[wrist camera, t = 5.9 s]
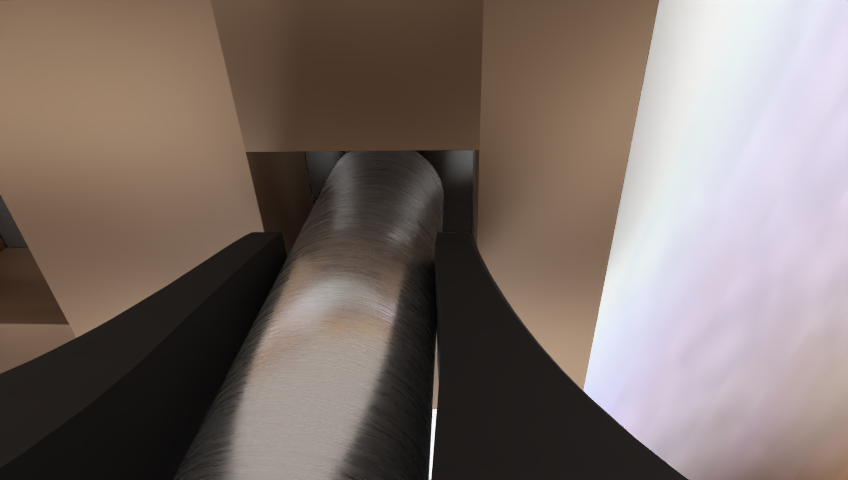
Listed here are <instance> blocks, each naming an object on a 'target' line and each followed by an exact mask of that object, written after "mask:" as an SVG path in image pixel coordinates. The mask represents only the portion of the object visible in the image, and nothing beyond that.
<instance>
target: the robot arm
mask: <svg viewBox="0 0 848 480" xmlns="http://www.w3.org/2000/svg"><path fill="white" fill-rule="evenodd" d="M434 255H435V294H436V315H437V332H436V333H437V365H438V381H439V387H438V402H437V416H436V429H435V442H434V455H433V468H432V479H431V480H688V479H687V478H685V477H684V476H683V475H681V474H680V473H679V472H677V471H676V470H675V469H673V468H672V467H671V466H670V465H668V464H667V463H666V462H665V461H663V460H662V459H661V458H659V457H658V456H657V455H656V454H654V453H653V452H652V451H651V450H649V449H648V448H647V447H646V446H644V445H643V444H642V443H641V442H639V441H638V440H637V439H636V438H634V437H633V436H632V435H631V434H630V433H629V432H628V431H627V430H626V429H624V428H623V427H622V426H621V425H620V424H619V423H618V422H617V421H616V420H614V419H613V418H612V417H611V416H610V415H609V414H608V413H607V412H605V411H604V410H603V409H602V408H601V407H600V406H599V405H598V404H597V403H595V402H594V401H593V400H592V399H591V398H590V397H589V396H588V395H587V394H586V393H585V392H584V391H583V390H582V389H581V388H580V387H579V386H578V385H577V384H576V383H575V382H574V381H573V380H572V379H571V378H570V377H569V376H568V375H567V374H566V373H565V372H564V371H563V370H562V369H561V368H560V366H559V365H558V364H557V363H556V362H555V361H554V360H553V359H552V358H551V356H550V355H549V354H548V353H547V352H546V351H545V350H544V349H543V347H542V346H541V345H540V344H539V343H538V341H537V340H536V339H535V338H534V336H533V335H532V334H531V333H530V331H529V330H528V329H527V327H526V326H525V325H524V323H523V322H522V321H521V319H520V318H519V317H518V315H517V314H516V313H515V311H514V310H513V308H512V307H511V305H510V304H509V303H508V301H507V300H506V298H505V296H504V295H503V293H502V292H501V290H500V288H499V287H498V285H497V284H496V282H495V281H494V279H493V277H492V275H491V274H490V272H489V270H488V268H487V266H486V264H485V262H484V261H483V259H482V256H481V254H480V252H479V250H478V247H477V245H476V242H475V238H474V237H473V236H472V235H471V234H470V233H437V235H436V241H435V249H434ZM286 259H287V253H286V248H285V244H284V239H283V234H282V232H251V233H249V234H247V235H245V236H243V237H242V238H240V239H238V240H237V241H235V242H233V243H232V244H230V245H229V246H227V247H225V248H224V249H222V250H221V251H219V252H218V253H216V254H215V255H213V256H212V257H210V258H208V259H207V260H205V261H204V262H202V263H201V264H199V265H198V266H196V267H195V268H193V269H192V270H190V271H189V272H187V273H185V274H184V275H182V276H181V277H179V278H178V279H176V280H175V281H173V282H172V283H170V284H169V285H167V286H165V287H164V288H162V289H160V290H159V291H157V292H155V293H154V294H152V295H150V296H149V297H147V298H145V299H144V300H142V301H140V302H139V303H137V304H135V305H134V306H132V307H130V308H129V309H127V310H125V311H124V312H122V313H120V314H119V315H117V316H115V317H114V318H112V319H110V320H108V321H107V322H105V323H103V324H101V325H100V326H98V327H96V328H94V329H92V330H90V331H88V332H86V333H85V334H83V335H81V336H79V337H77V338H75V339H73V340H71V341H69V342H67V343H65V344H63V345H61V346H59V347H57V348H55V349H53V350H51V351H49V352H47V353H45V354H43V355H41V356H39V357H37V358H35V359H32V360H30V361H28V362H26V363H24V364H21V365H19V366H17V367H14V368H12V369H10V370H8V371H5V372H3V373H1V374H0V480H173V479H174V477H175V475H176V473H177V472H178V470H179V468H180V466H181V464H182V462H183V460H184V458H185V456H186V454H187V452H188V450H189V448H190V446H191V444H192V442H193V440H194V438H195V436H196V434H197V433H198V431H199V429H200V427H201V425H202V423H203V421H204V419H205V417H206V415H207V413H208V411H209V409H210V407H211V405H212V403H213V401H214V399H215V397H216V395H217V394H218V392H219V390H220V388H221V386H222V384H223V382H224V380H225V378H226V376H227V374H228V372H229V370H230V368H231V366H232V364H233V362H234V360H235V358H236V356H237V355H238V353H239V351H240V349H241V347H242V345H243V343H244V341H245V339H246V337H247V335H248V333H249V331H250V329H251V327H252V325H253V323H254V321H255V319H256V317H257V316H258V314H259V312H260V310H261V308H262V306H263V304H264V302H265V300H266V298H267V296H268V294H269V292H270V290H271V288H272V286H273V284H274V282H275V280H276V278H277V277H278V275H279V273H280V271H281V269H282V267H283V265H284V263H285V261H286Z"/></svg>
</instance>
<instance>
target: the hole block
mask: <svg viewBox="0 0 848 480" xmlns="http://www.w3.org/2000/svg"><path fill="white" fill-rule="evenodd" d="M658 3H659V0H0V195H1V197H2V199H3V201H4V202H5V204H6V206H7V208H8V210H9V212H10V214H11V216H12V217H13V219H14V221H15V223H16V225H17V227H18V229H19V231H20V233H21V234H22V236H23V238H24V240H25V242H26V244H27V246H28V248H7V247H6V246H5V244H4V242H3V240H2V239H1V237H0V374H1V373H3V372H5V371H8V370H10V369H12V368H14V367H17V366H19V365H21V364H24V363H26V362H28V361H30V360H32V359H35V358H37V357H39V356H41V355H43V354H45V353H47V352H49V351H51V350H53V349H55V348H57V347H59V346H61V345H63V344H65V343H67V342H69V341H71V340H73V339H75V338H77V337H79V336H81V335H83V334H85V333H86V332H88V331H90V330H92V329H94V328H96V327H98V326H100V325H101V324H103V323H105V322H107V321H108V320H110V319H112V318H114V317H115V316H117V315H119V314H120V313H122V312H124V311H125V310H127V309H129V308H130V307H132V306H134V305H135V304H137V303H139V302H140V301H142V300H144V299H145V298H147V297H149V296H150V295H152V294H154V293H155V292H157V291H159V290H160V289H162V288H164V287H165V286H167V285H169V284H170V283H172V282H173V281H175V280H176V279H178V278H179V277H181V276H182V275H184V274H185V273H187V272H189V271H190V270H192V269H193V268H195V267H196V266H198V265H199V264H201V263H202V262H204V261H205V260H207V259H208V258H210V257H212V256H213V255H215V254H216V253H218V252H219V251H221V250H222V249H224V248H225V247H227V246H229V245H230V244H232V243H233V242H235V241H237V240H238V239H240V238H242V237H243V236H245V235H247V234H249V233H251V232H282V234H283V239H284V244H285V248H286V253H287V257H288V255H289V253H290V251H291V249H292V247H293V245H294V243H295V241H296V239H297V237H298V236H299V234H300V232H301V230H302V228H303V226H304V224H305V222H306V220H307V218H308V216H309V214H310V212H311V210H312V208H313V200H312V194H311V188H310V182H309V176H308V170H307V164H306V158H305V152H304V151H413V150H473V198H472V236H473V237H474V238H475V242H476V245H477V247H478V250H479V252H480V254H481V256H482V259H483V261H484V262H485V264H486V266H487V268H488V270H489V272H490V274H491V275H492V277H493V279H494V281H495V282H496V284H497V285H498V287H499V288H500V290H501V292H502V293H503V295H504V296H505V298H506V300H507V301H508V303H509V304H510V305H511V307H512V308H513V310H514V311H515V313H516V314H517V315H518V317H519V318H520V319H521V321H522V322H523V323H524V325H525V326H526V327H527V329H528V330H529V331H530V333H531V334H532V335H533V336H534V338H535V339H536V340H537V341H538V343H539V344H540V345H541V346H542V347H543V349H544V350H545V351H546V352H547V353H548V354H549V355H550V356H551V358H552V359H553V360H554V361H555V362H556V363H557V364H558V365H559V366H560V368H561V369H562V370H563V371H564V372H565V373H566V374H567V375H568V376H569V377H570V378H571V379H572V380H573V381H574V382H575V383H576V384H577V385H578V386H579V387H580V388H581V389H582V390H583V388H584V383H585V378H586V373H587V368H588V362H589V357H590V352H591V347H592V342H593V337H594V332H595V326H596V321H597V316H598V311H599V306H600V301H601V296H602V290H603V285H604V280H605V275H606V270H607V265H608V260H609V255H610V249H611V244H612V239H613V234H614V229H615V224H616V219H617V213H618V208H619V203H620V198H621V193H622V188H623V183H624V177H625V172H626V167H627V162H628V157H629V152H630V147H631V141H632V136H633V131H634V126H635V121H636V116H637V111H638V105H639V100H640V95H641V90H642V85H643V80H644V75H645V69H646V64H647V59H648V54H649V49H650V44H651V39H652V34H653V28H654V23H655V18H656V13H657V8H658ZM438 387H439V381H438V365H437V333H436V351H435V369H434V387H433V405H432V409H437V402H438Z"/></svg>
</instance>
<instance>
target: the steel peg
mask: <svg viewBox="0 0 848 480" xmlns="http://www.w3.org/2000/svg"><path fill="white" fill-rule="evenodd" d="M443 205H444V192H443V187H442V183H441V180H440V178H439V176H438V174H437V172H436V170H435V169H434V167H433V166H432V165H431V164H430V163H429V162H428V161H427V159H426V158H424V157H423V156H422V155H421V154H419V153H418V152H416V151H414V150H413V151H349V152H347V153H346V154H344V155H343V156H342V157H341V158H340V159H339V160H338V162H337V163H336V164H335V166H334V168H333V169H332V171H331V173H330V175H329V177H328V179H327V181H326V183H325V185H324V187H323V189H322V191H321V193H320V195H319V197H318V198H317V200H316V202H315V204H314V206H313V208H312V210H311V212H310V214H309V216H308V218H307V220H306V222H305V224H304V226H303V228H302V230H301V232H300V234H299V236H298V237H297V239H296V241H295V243H294V245H293V247H292V249H291V251H290V253H289V255H288V257H287V259H286V261H285V263H284V265H283V267H282V269H281V271H280V273H279V275H278V277H277V278H276V280H275V282H274V284H273V286H272V288H271V290H270V292H269V294H268V296H267V298H266V300H265V302H264V304H263V306H262V308H261V310H260V312H259V314H258V316H257V317H256V319H255V321H254V323H253V325H252V327H251V329H250V331H249V333H248V335H247V337H246V339H245V341H244V343H243V345H242V347H241V349H240V351H239V353H238V355H237V356H236V358H235V360H234V362H233V364H232V366H231V368H230V370H229V372H228V374H227V376H226V378H225V380H224V382H223V384H222V386H221V388H220V390H219V392H218V394H217V395H216V397H215V399H214V401H213V403H212V405H211V407H210V409H209V411H208V413H207V415H206V417H205V419H204V421H203V423H202V425H201V427H200V429H199V431H198V433H197V434H196V436H195V438H194V440H193V442H192V444H191V446H190V448H189V450H188V452H187V454H186V456H185V458H184V460H183V462H182V464H181V466H180V468H179V470H178V472H177V473H176V475H175V477H174V479H173V480H428V478H429V460H430V442H431V424H432V405H433V387H434V369H435V351H436V332H437V315H436V294H435V255H434V249H435V241H436V235H437V233H442V223H443Z"/></svg>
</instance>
